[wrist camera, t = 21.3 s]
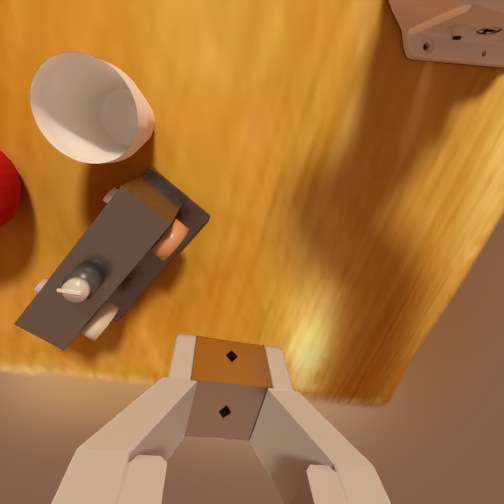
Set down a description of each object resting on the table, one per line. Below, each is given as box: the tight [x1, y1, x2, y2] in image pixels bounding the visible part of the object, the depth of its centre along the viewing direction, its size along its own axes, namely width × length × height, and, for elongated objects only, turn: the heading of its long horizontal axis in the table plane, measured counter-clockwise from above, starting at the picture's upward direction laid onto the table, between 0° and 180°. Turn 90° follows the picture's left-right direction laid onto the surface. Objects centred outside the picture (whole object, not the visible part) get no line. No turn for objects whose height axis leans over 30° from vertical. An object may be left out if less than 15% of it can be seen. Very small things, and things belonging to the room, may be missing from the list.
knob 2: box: [103, 187, 189, 261], centre depth 34 cm, size 9×5×5 cm, turn 47°
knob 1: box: [33, 278, 119, 341], centre depth 37 cm, size 9×5×5 cm, turn 47°
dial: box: [57, 263, 104, 302], centre depth 30 cm, size 3×3×4 cm
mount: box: [15, 167, 210, 350], centre depth 37 cm, size 10×23×11 cm, turn 137°
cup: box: [30, 52, 154, 164], centre depth 30 cm, size 9×9×12 cm
